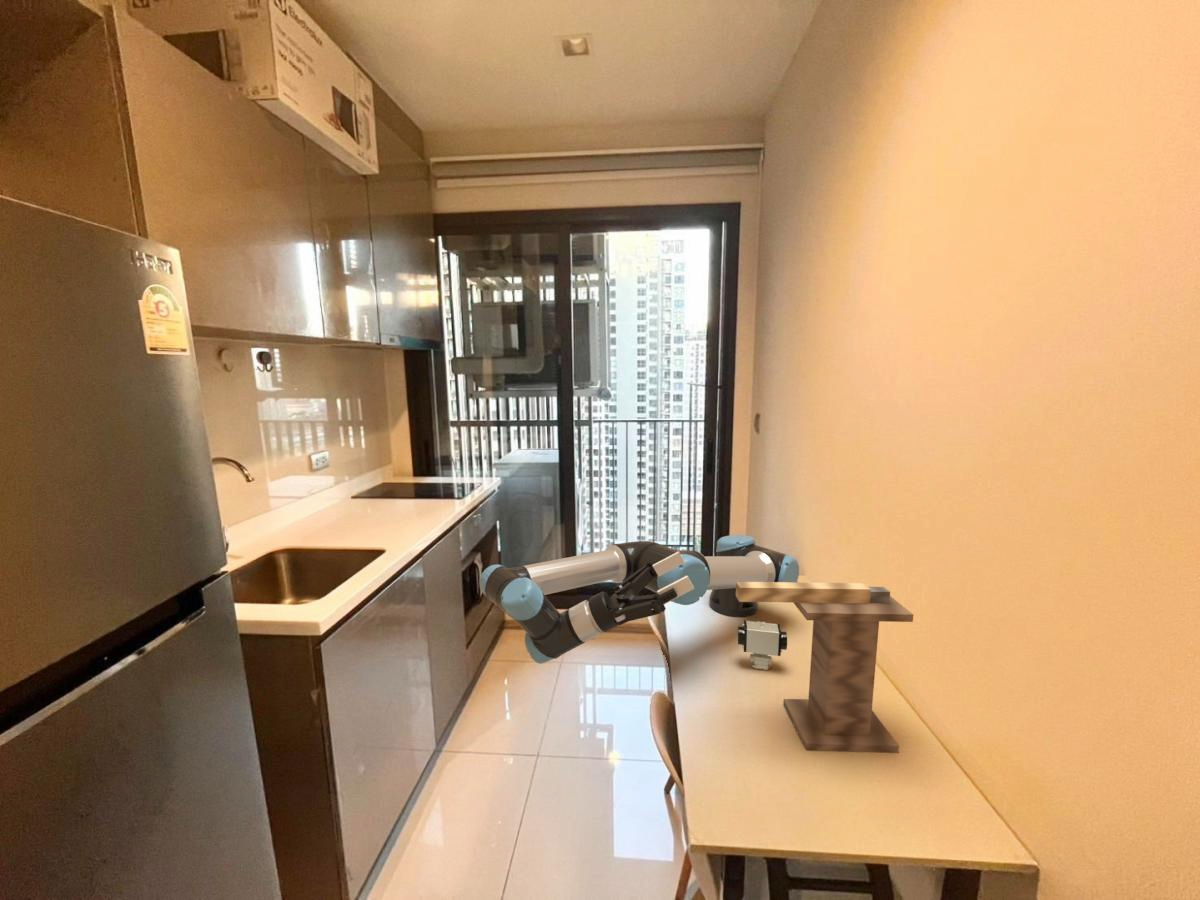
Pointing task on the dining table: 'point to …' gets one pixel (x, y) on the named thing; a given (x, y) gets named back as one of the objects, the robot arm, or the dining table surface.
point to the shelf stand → (844, 678)
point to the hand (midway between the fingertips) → (686, 568)
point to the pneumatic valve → (762, 642)
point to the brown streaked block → (810, 592)
